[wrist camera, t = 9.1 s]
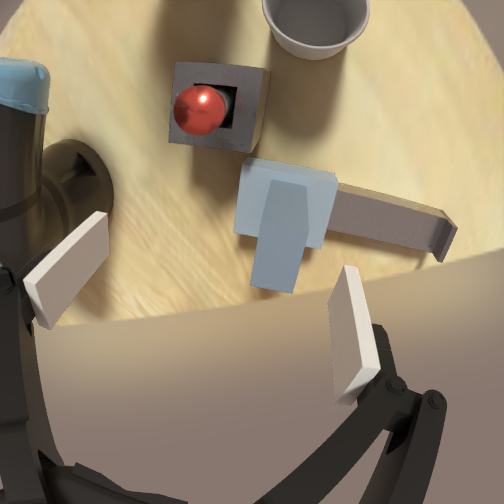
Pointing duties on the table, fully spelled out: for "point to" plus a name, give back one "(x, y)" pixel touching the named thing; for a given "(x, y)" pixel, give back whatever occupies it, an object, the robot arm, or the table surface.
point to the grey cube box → (246, 105)
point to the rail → (391, 220)
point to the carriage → (282, 217)
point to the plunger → (203, 108)
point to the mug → (316, 25)
